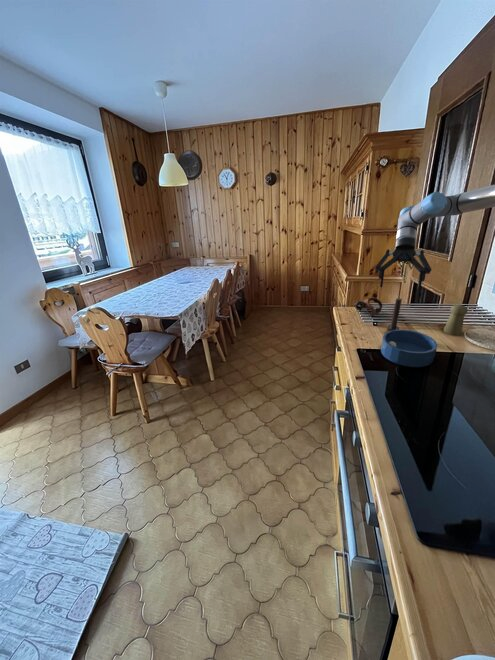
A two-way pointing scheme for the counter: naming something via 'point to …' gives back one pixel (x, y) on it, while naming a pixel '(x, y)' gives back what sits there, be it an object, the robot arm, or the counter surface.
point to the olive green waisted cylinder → (455, 320)
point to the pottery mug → (369, 306)
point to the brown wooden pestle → (395, 316)
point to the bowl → (409, 348)
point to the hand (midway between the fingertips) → (399, 286)
